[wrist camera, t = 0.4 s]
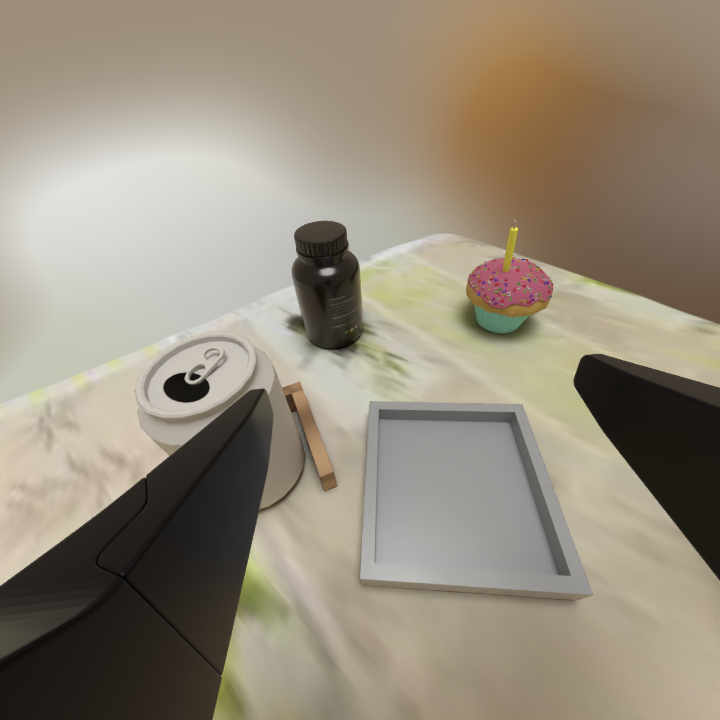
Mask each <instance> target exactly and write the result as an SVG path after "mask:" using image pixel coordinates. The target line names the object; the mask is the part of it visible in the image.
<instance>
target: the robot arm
mask: <svg viewBox="0 0 720 720" xmlns="http://www.w3.org/2000/svg"><path fill="white" fill-rule="evenodd" d="M574 386H575V388H576V390H577V391H578V393H579V395H580V396H581V398H582V399H583V401H584V403H585V404H586V406H587V407H588V409H589V410H590V412H591V414H592V415H593V417H594V418H595V420H596V421H597V423H598V425H599V426H600V427H601V429H602V430H603V432H604V433H605V435H606V436H607V437H608V439H609V440H610V441H611V442H612V444H613V445H614V446H615V448H616V449H617V450H618V451H619V453H620V454H621V455H622V456H623V458H624V459H625V460H626V462H627V463H628V464H629V465H630V467H631V468H632V469H633V470H634V472H635V473H636V474H637V476H638V477H639V478H640V479H641V481H642V482H643V483H644V485H645V486H646V487H647V488H648V490H649V491H650V492H651V493H652V495H653V496H654V497H655V499H656V500H657V501H658V502H659V504H660V505H661V506H662V507H663V509H664V510H665V511H666V513H667V514H668V515H669V516H670V518H671V519H672V520H673V521H674V523H675V524H676V525H677V527H678V528H679V529H680V530H681V532H682V533H683V534H684V536H685V537H686V538H687V539H688V541H689V542H690V543H691V544H692V546H693V547H694V548H695V550H696V551H697V552H698V553H699V555H700V556H701V557H702V558H703V560H704V561H705V562H706V564H707V565H708V566H709V567H710V569H711V570H712V571H713V572H714V574H715V575H716V576H717V578H718V579H719V580H720V388H719V387H715V386H712V385H708V384H705V383H701V382H698V381H694V380H691V379H687V378H684V377H680V376H677V375H673V374H670V373H666V372H663V371H659V370H656V369H652V368H648V367H645V366H641V365H638V364H634V363H631V362H627V361H624V360H620V359H617V358H613V357H610V356H606V355H603V354H591V355H585V356H583V357H582V358H581V360H580V362H579V365H578V368H577V371H576V374H575V377H574ZM272 429H273V410H272V406H271V403H270V399H269V396H268V393H267V391H266V389H264V388H261V389H252V390H249V391H248V392H247V393H246V394H244V395H243V396H242V397H241V398H240V399H238V400H237V401H236V402H235V403H233V404H232V405H231V406H230V407H229V408H227V409H226V410H225V411H224V412H223V413H221V414H220V415H219V416H218V417H216V418H215V419H214V420H213V421H212V422H210V423H209V424H208V425H207V426H206V427H204V428H203V429H202V430H201V431H200V432H198V433H197V434H196V435H195V436H193V437H192V438H191V439H190V440H189V441H187V442H186V443H185V444H184V445H182V446H181V447H180V448H179V449H178V450H176V451H175V452H174V453H173V454H172V455H170V456H169V457H168V458H167V459H165V460H164V461H163V462H162V463H161V464H159V465H158V466H157V467H156V468H155V469H153V470H152V471H151V472H150V473H148V474H147V475H146V478H142V479H141V480H140V481H139V482H137V483H136V484H135V485H134V486H133V487H131V488H130V489H129V490H128V491H126V492H125V493H124V494H123V495H121V496H120V497H119V498H118V499H116V500H115V501H114V502H113V503H111V504H110V505H109V506H108V507H106V508H105V509H104V510H103V511H101V512H100V513H99V514H97V515H96V516H95V517H93V518H92V519H91V520H89V521H88V522H87V523H85V524H84V525H83V526H81V527H80V528H79V529H77V530H76V531H75V532H73V533H72V534H71V535H69V536H68V537H66V538H65V539H64V540H62V541H61V542H60V543H58V544H57V545H56V546H54V547H53V548H51V549H50V550H49V551H47V552H46V553H45V554H43V555H42V556H41V557H39V558H38V559H36V560H35V561H34V562H32V563H31V564H30V565H28V566H27V567H26V568H24V569H23V570H21V571H20V572H19V573H17V574H16V575H15V576H13V577H12V578H11V579H9V580H8V581H6V582H5V583H4V584H2V585H1V586H0V720H213V715H214V711H215V706H216V702H217V697H218V693H219V688H220V684H221V679H222V677H221V675H222V673H223V670H224V665H225V661H226V656H227V652H228V647H229V643H230V638H231V634H232V629H233V625H234V620H235V616H236V611H237V607H238V602H239V598H240V594H241V589H242V585H243V580H244V576H245V571H246V567H247V562H248V558H249V553H250V549H251V544H252V540H253V535H254V531H255V526H256V522H257V518H258V513H259V509H260V504H261V500H262V495H263V491H264V486H265V482H266V477H267V472H268V467H269V459H270V449H271V439H272Z"/></svg>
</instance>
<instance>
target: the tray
mask: <svg viewBox="0 0 720 720" xmlns="http://www.w3.org/2000/svg"><path fill="white" fill-rule="evenodd" d="M360 581H361V584H362V585H370V586H384V587H398V588H412V589H426V590H440V591H454V592H468V593H482V594H496V595H510V596H524V597H538V598H552V599H566V600H579V599H582V598H585V597H589V596H592V595H593V593H592V591H591V588H590V585H589V582H588V580H587V577H586V574H585V572H584V569H583V566H582V564H581V561H580V558H579V556H578V553H577V550H576V547H575V545H574V542H573V539H572V537H571V534H570V531H569V529H568V526H567V523H566V521H565V518H564V515H563V512H562V510H561V507H560V504H559V502H558V499H557V496H556V494H555V491H554V488H553V486H552V483H551V480H550V478H549V475H548V472H547V469H546V467H545V464H544V461H543V459H542V456H541V453H540V451H539V448H538V445H537V443H536V440H535V437H534V434H533V432H532V429H531V426H530V424H529V421H528V418H527V416H526V413H525V410H524V408H523V405H522V404H482V403H430V402H377V401H370V404H369V423H368V441H367V459H366V478H365V496H364V514H363V532H362V551H361V569H360Z"/></svg>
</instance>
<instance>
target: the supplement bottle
mask: <svg viewBox="0 0 720 720" xmlns="http://www.w3.org/2000/svg"><path fill="white" fill-rule="evenodd" d="M294 238H295V243H296V251H297V255H298V258H297V259H296V260H295V262H294V264H293V267H292V278H293V282H294V286H295V291H296V295H297V299H298V303H299V307H300V311H301V315H302V319H303V324H304V327H305V331H306V334H307V337H308V338H309V340H310V341H311V342H312V343H314V344H315V345H317V346H320V347H323V348H330V349H334V348H341V347H344V346H347V345H349V344H351V343H353V342H354V341H355V340H356V339H357V338H358V337H359V336H360V335H361V333H362V330H363V313H362V297H361V280H360V267H359V262H358V260H357V258H356V257H355V256H354V255H353V254H352V253H351V252H350V251H348V249H349V243H348V240H347V232H346V228H345V226H343V225H342V224H340V223H337V222H333V221H317V222H312V223H308V224H305V225H303V226H301V227H300V228H298V229H297V230H296V232H295V235H294Z"/></svg>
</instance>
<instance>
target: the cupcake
mask: <svg viewBox="0 0 720 720" xmlns="http://www.w3.org/2000/svg"><path fill="white" fill-rule="evenodd" d="M515 226H516V220H514V224H513V227H512V228H511V229H510V233H509V238H508V243H507V249H506V254H505V258H500V259H496V258H495V259H493V260H491V261H488V262H485V263H484V264H481V265H480V266H478V267H476V268H475V269H474V270H473V271H472V273H471V274H469V277H468V283H467V287H466V293H467V296H468V297H469V299H470V300H471V302H472V303H473V304H474V306H475V312H476V320H477V322H478V324H479V325H480V326H481V327H482V328H484V329H486V330H488V331H490V332H494V333H510V332H513V331H515V330H516V329H517V328H518V327H519V326H520V325H521V324H522V323H523V322H524V321H525V320H526V319H527V318H528V317H529V316H530V315H532V314H535V313H537V312H539V311H540V310H542V309H545V308H546V307H547V306H548V303H549V301H550V299H551V297H552V291H553V283H552V281H551V280H550V277H549V276H547V275H546V274H545V272H544V271H543V270H542V269H540V267H538V266H536V264H534V263H532V262H530V261H528V260H527V259H526V260H525V259H522V260H521V259H517V258H515V257H513V258H512V256H513V251H514V247H515V242H516V237H517V232H518V228H517V227H515Z"/></svg>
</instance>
